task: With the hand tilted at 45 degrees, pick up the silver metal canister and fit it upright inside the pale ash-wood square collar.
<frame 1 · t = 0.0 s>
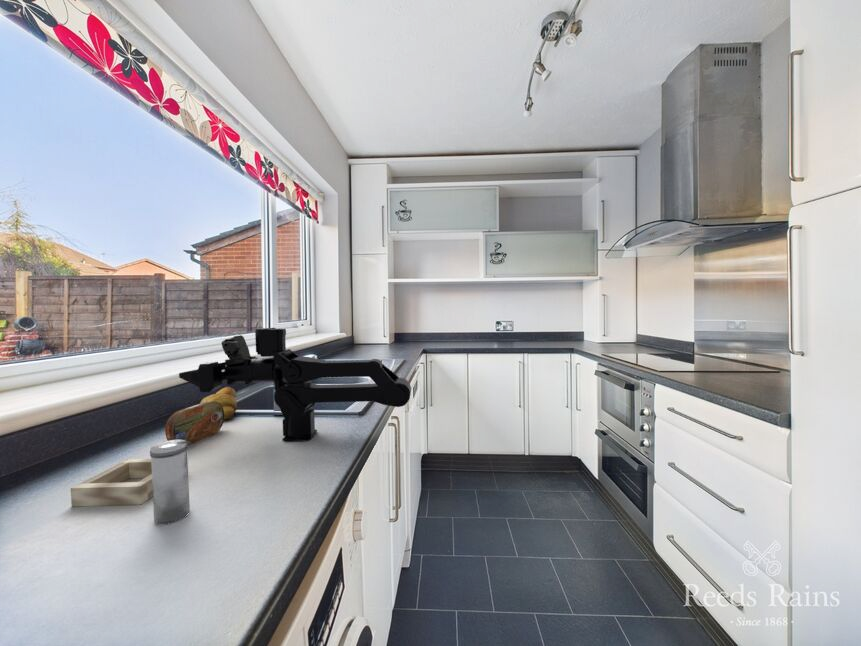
hand: (192, 371, 86), 17 cm above the worktop, tool horizontal, fingers open, 9 cm apart
silver metal canister: (172, 516, 54), on the worktop
tin: (197, 440, 87), on the worktop
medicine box: (285, 412, 109), on the worktop
bread roll: (219, 418, 105), on the worktop
collar: (133, 488, 63), on the worktop
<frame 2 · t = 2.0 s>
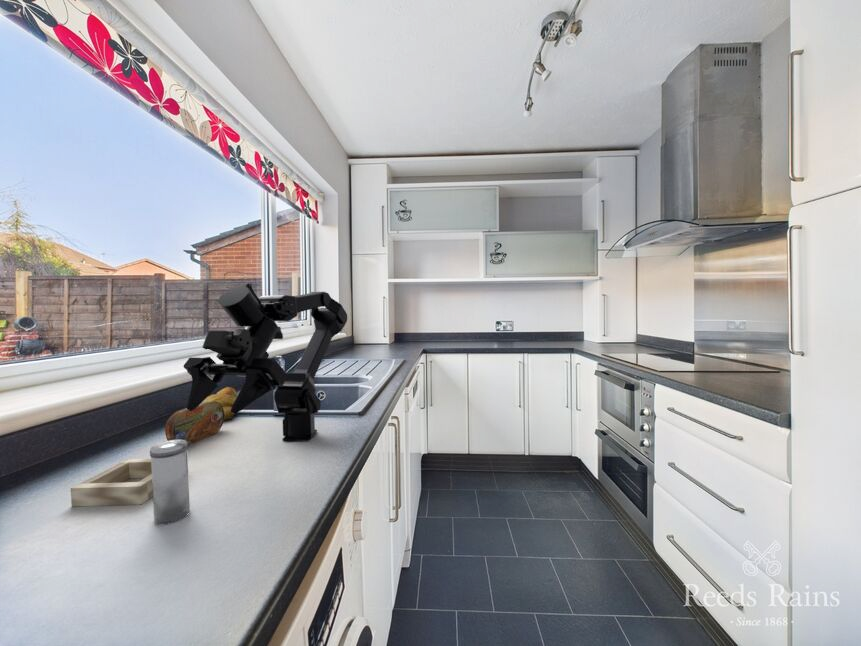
hand: (210, 411, 62), 14 cm above the worktop, tool tilted 45°, fingers open, 9 cm apart
nothing on the worktop moved.
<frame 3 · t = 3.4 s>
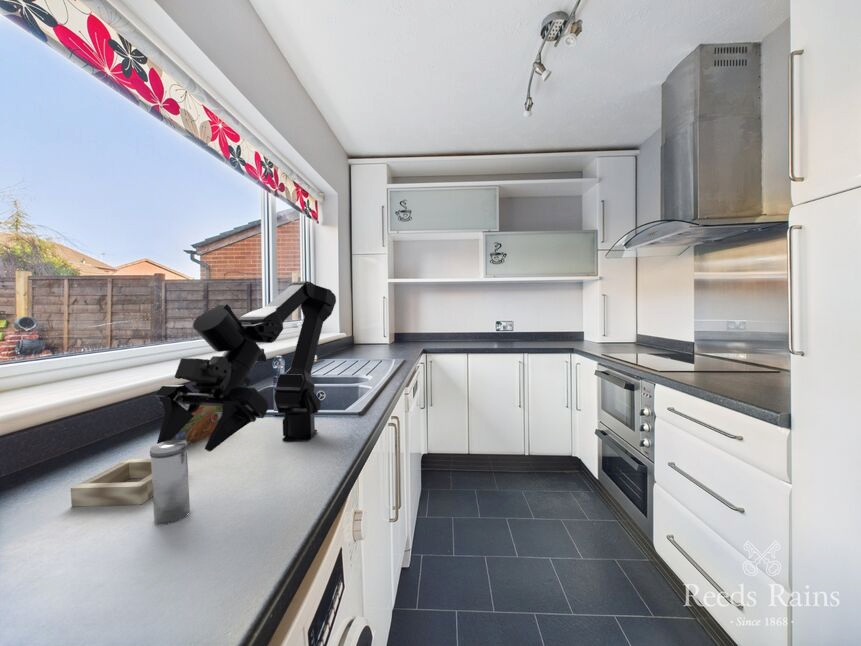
hand: (183, 448, 56), 10 cm above the worktop, tool tilted 45°, fingers open, 9 cm apart
nothing on the worktop moved.
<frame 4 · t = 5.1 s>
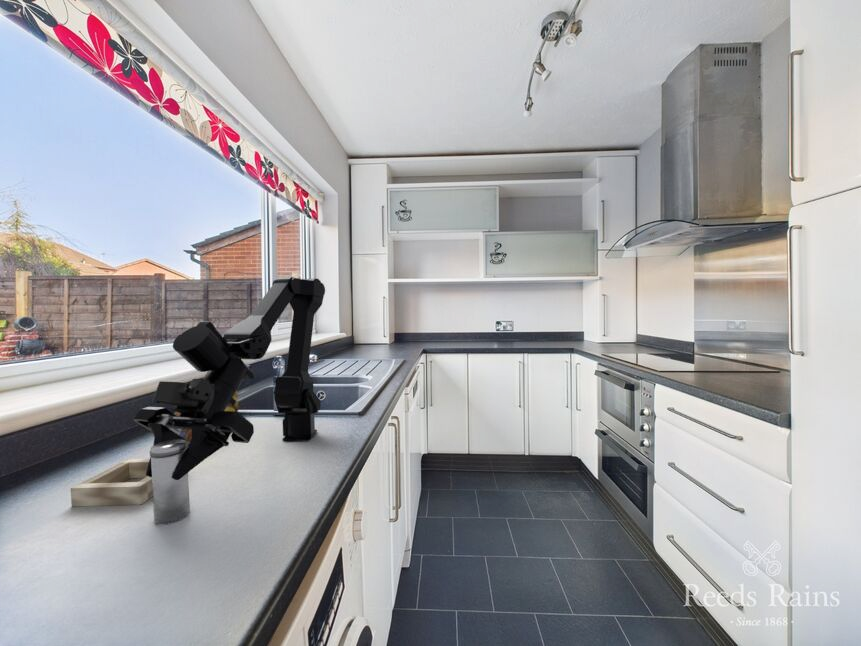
hand: (161, 477, 53), 7 cm above the worktop, tool tilted 45°, fingers closed on silver metal canister, 4 cm apart
silver metal canister: (172, 516, 54), on the worktop, touching gripper
everything else where it was.
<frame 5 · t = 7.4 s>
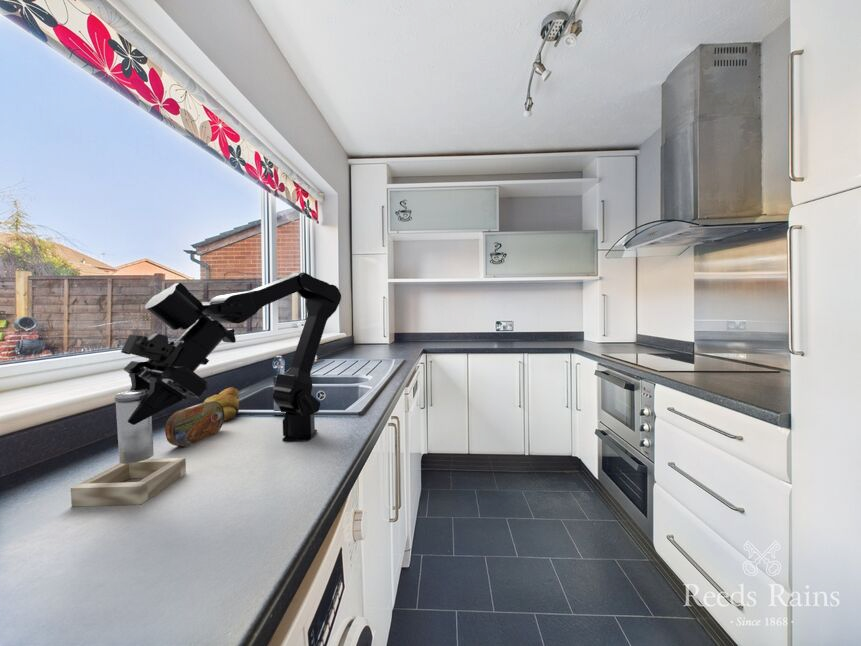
hand: (124, 421, 58), 13 cm above the worktop, tool tilted 45°, fingers closed on silver metal canister, 4 cm apart
silver metal canister: (136, 457, 59), point 7 cm above the worktop, touching gripper
when the fingers open (7 cm above the worktop, at t = 9.7 s): silver metal canister stays where it is, resting in collar.
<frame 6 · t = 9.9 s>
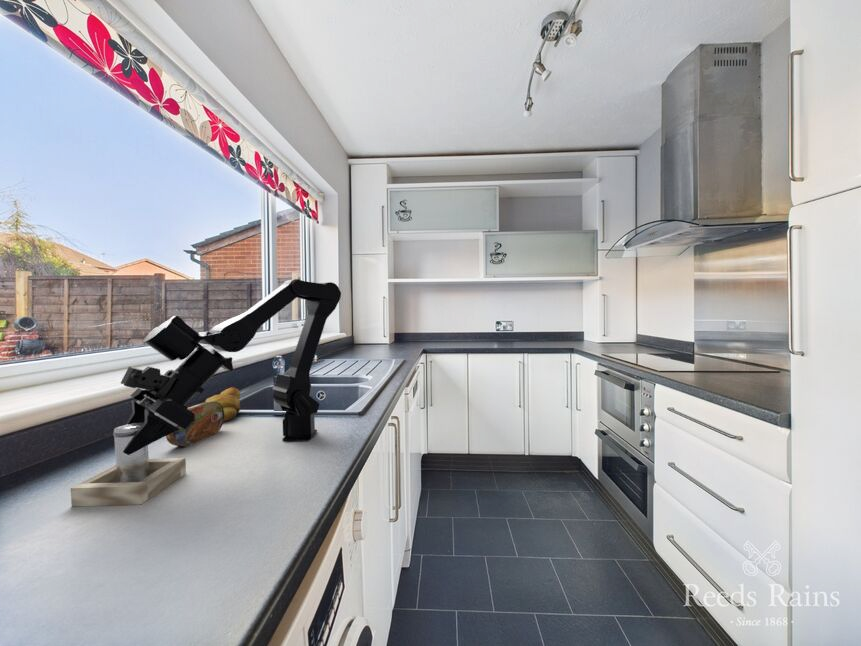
hand: (121, 448, 62), 8 cm above the worktop, tool tilted 45°, fingers open, 6 cm apart
silver metal canister: (134, 488, 63), resting in collar
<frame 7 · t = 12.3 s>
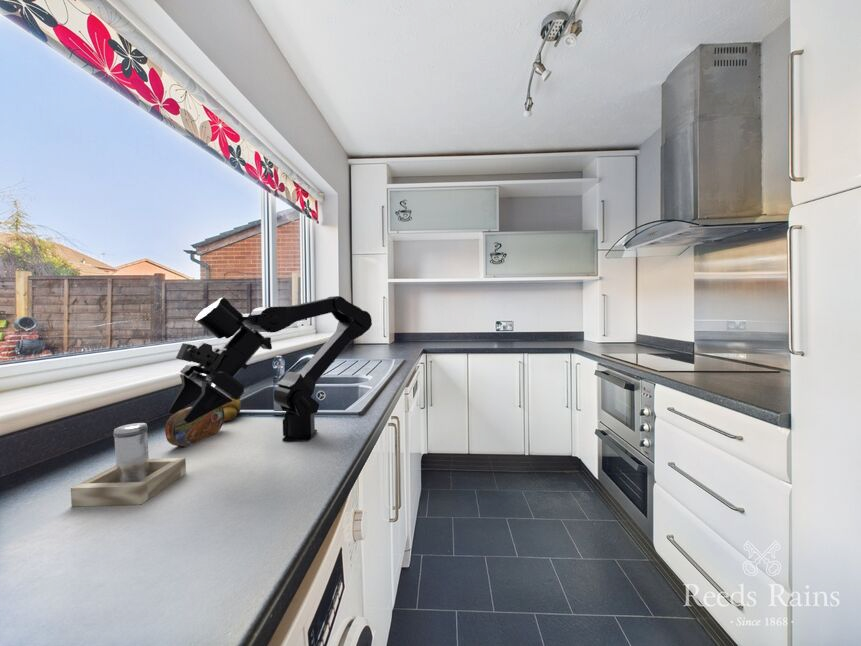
hand: (177, 417, 68), 11 cm above the worktop, tool tilted 45°, fingers open, 9 cm apart
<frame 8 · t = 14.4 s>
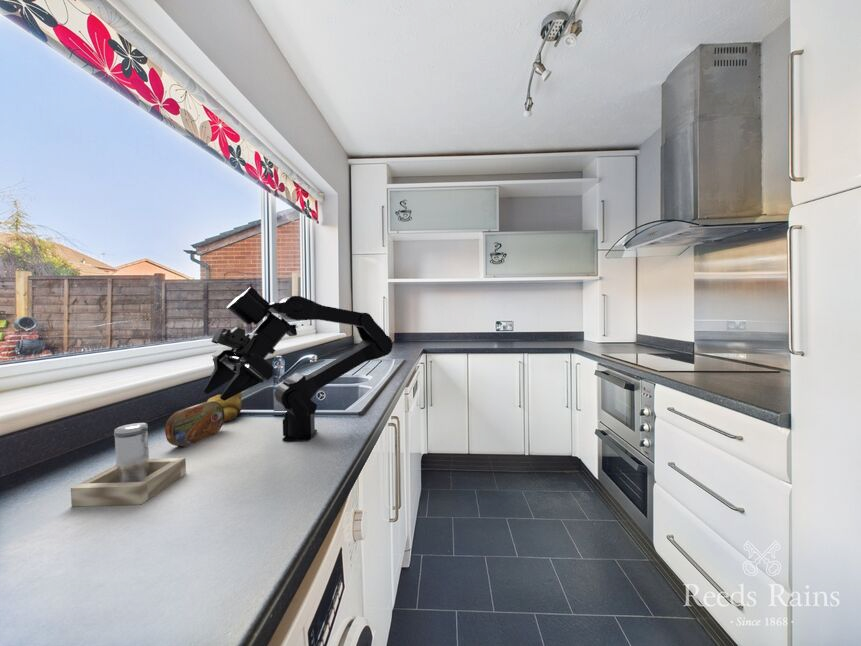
hand: (213, 396, 74), 14 cm above the worktop, tool tilted 45°, fingers open, 9 cm apart
at the end: silver metal canister 0.0 cm off-centre on the collar, point 0.0 cm above the collar's base; silver metal canister tilted 0°; the gripper is holding nothing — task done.
